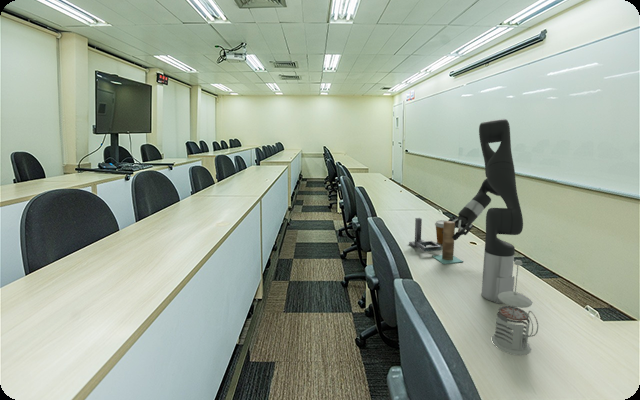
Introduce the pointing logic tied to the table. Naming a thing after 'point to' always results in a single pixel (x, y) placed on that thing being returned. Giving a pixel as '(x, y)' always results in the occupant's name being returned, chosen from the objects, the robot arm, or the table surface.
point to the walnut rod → (448, 240)
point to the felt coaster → (455, 260)
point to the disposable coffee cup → (439, 231)
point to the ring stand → (419, 242)
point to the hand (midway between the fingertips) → (448, 236)
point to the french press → (503, 334)
